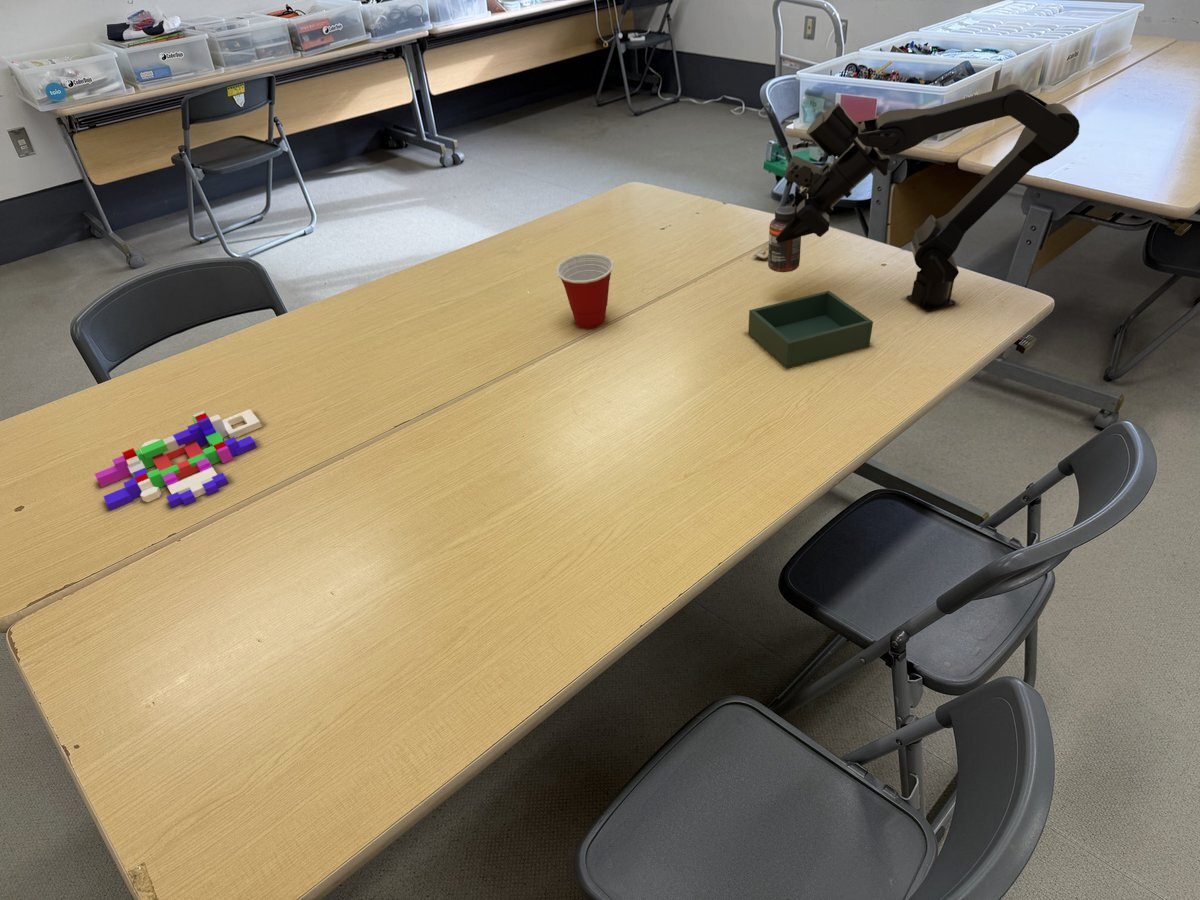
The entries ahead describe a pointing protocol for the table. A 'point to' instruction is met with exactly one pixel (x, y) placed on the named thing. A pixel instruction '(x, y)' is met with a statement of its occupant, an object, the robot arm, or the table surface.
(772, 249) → the supplement bottle
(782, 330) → the bin
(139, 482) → the building block set
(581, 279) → the plastic cup
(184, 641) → the table surface
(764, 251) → the snack bar
